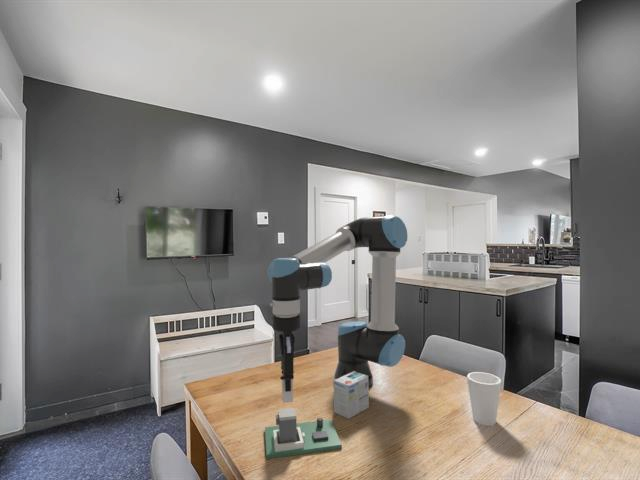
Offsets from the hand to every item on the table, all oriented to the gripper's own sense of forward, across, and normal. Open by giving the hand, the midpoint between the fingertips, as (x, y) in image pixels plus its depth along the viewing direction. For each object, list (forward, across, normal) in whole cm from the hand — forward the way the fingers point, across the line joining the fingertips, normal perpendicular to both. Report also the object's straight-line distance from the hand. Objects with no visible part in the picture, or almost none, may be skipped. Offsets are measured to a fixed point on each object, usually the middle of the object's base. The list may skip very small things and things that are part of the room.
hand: (287, 400), depth 92 cm
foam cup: (+13, 0, +60) cm, 62 cm away
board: (+12, -2, +4) cm, 13 cm away
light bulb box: (+13, -14, +22) cm, 30 cm away
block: (+11, 0, 0) cm, 11 cm away
